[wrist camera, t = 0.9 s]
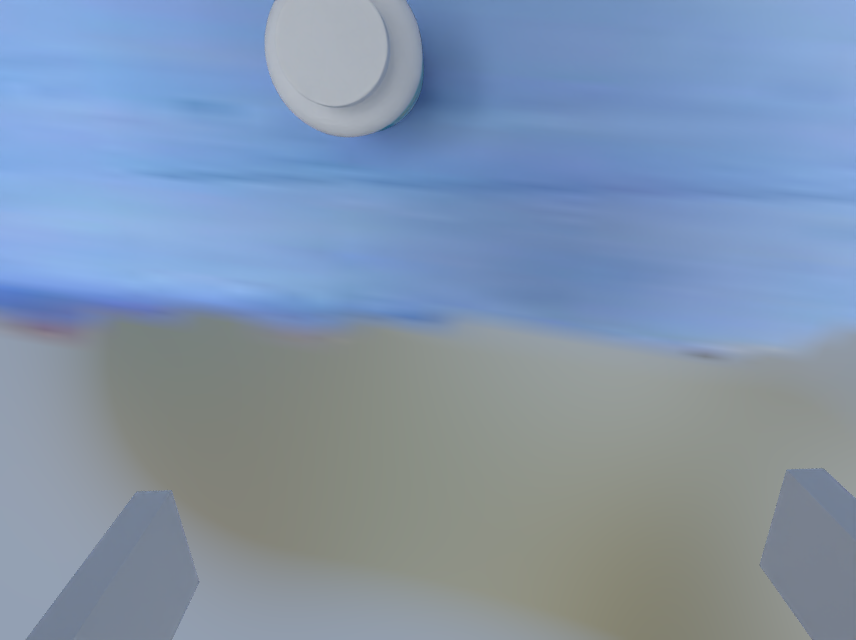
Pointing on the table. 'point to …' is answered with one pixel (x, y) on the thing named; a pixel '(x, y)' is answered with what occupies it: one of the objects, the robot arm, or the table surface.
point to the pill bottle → (345, 62)
